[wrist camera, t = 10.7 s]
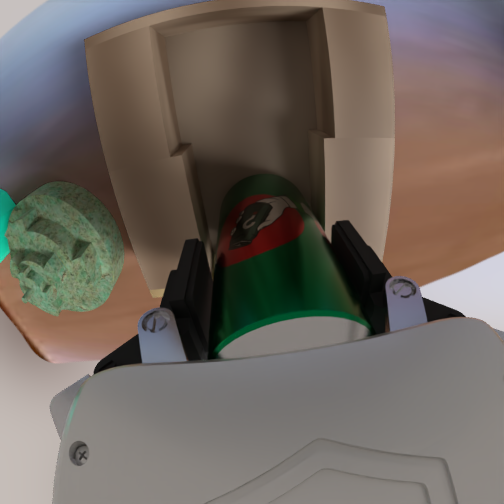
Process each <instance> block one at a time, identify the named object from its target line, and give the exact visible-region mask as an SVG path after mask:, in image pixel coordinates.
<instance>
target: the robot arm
mask: <svg viewBox="0 0 504 504" xmlns="http://www.w3.org/2000/svg"><path fill="white" fill-rule="evenodd" d="M331 245H332V247H333V248H334V250H335V252H336V254H337V256H338V257H339V259H340V261H341V263H342V265H343V267H344V269H345V271H346V272H347V274H348V276H349V278H350V280H351V282H352V284H353V286H354V288H355V290H356V292H357V294H358V296H359V298H360V300H361V302H362V304H363V306H364V308H365V310H366V312H367V314H368V316H369V318H370V320H371V322H372V324H373V327H374V329H375V331H376V333H377V335H374V336H370V337H365V338H361V339H356V340H351V341H346V342H341V343H336V344H330V345H325V346H319V347H313V348H307V349H301V350H294V351H287V352H280V353H273V354H264V355H256V356H247V357H237V358H226V359H213V360H207V355H208V339H209V325H210V312H211V299H212V287H213V279H212V275H211V271H210V266H209V262H208V258H207V254H206V250H205V246H204V242H203V241H199V239H198V238H195V239H188V240H185V243H184V246H183V249H182V253H181V256H180V260H179V263H178V267H177V270H171V271H170V274H169V277H168V280H167V284H166V287H165V291H164V294H163V298H162V301H161V305H160V308H154V309H152V310H149V311H147V312H146V313H145V314H143V316H142V317H141V318H140V320H139V322H138V334H137V335H136V336H134V337H133V338H132V339H130V340H129V341H127V342H126V343H124V344H123V345H122V346H120V347H119V348H117V349H116V350H115V351H113V352H112V353H110V354H109V355H108V356H106V357H105V358H103V359H102V360H101V361H100V362H99V363H98V364H97V365H96V367H95V369H94V375H92V376H90V375H89V374H88V375H86V376H85V377H83V378H82V379H80V380H79V381H77V382H76V383H74V384H72V385H71V386H69V387H68V388H66V389H64V390H63V391H61V392H60V393H58V394H57V395H56V396H55V397H53V399H52V401H51V404H50V411H51V415H52V418H53V421H54V423H55V426H56V429H57V431H58V434H59V437H60V439H61V443H60V448H59V453H58V459H57V465H56V471H55V479H54V488H53V502H52V504H504V332H502V331H499V330H496V329H494V328H492V327H491V326H490V325H488V324H487V323H486V322H484V321H482V320H479V319H476V318H469V317H465V316H464V315H463V314H462V313H461V312H459V311H457V310H454V309H452V308H449V307H446V306H444V305H442V304H439V303H436V302H434V301H431V300H429V299H426V298H423V297H422V295H421V292H420V288H419V286H418V284H417V283H416V282H415V281H413V280H412V279H410V278H407V277H403V276H395V277H392V276H391V275H390V273H389V272H388V270H387V269H386V267H385V266H384V264H383V263H382V262H381V260H380V259H379V257H378V256H377V255H376V253H375V252H374V250H373V249H372V248H371V247H370V246H368V245H367V244H366V243H365V241H364V240H363V239H362V237H361V236H360V234H359V233H358V232H357V230H356V229H355V228H354V226H353V225H352V224H351V223H350V221H349V220H342V221H336V223H335V224H334V225H332V228H331Z"/></svg>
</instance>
